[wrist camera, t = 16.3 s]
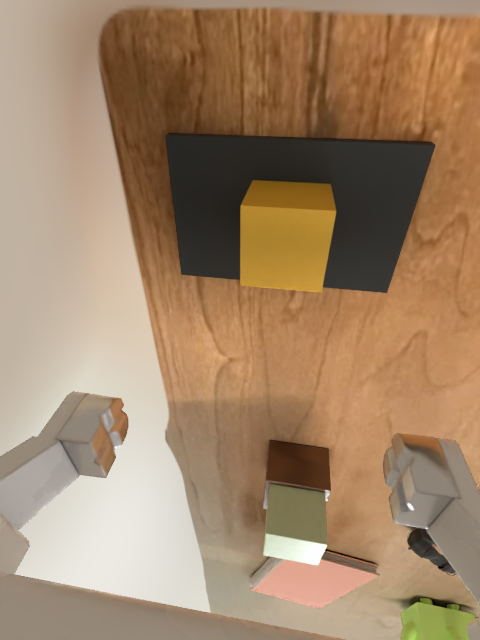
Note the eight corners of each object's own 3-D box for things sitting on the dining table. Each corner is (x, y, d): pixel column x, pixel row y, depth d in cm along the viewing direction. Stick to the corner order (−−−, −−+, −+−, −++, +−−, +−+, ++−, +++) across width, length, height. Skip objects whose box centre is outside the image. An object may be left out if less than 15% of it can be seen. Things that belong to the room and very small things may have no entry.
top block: (250, 250, 24) (239, 285, 21) (252, 179, 21) (240, 205, 18) (319, 255, 24) (321, 293, 20) (331, 183, 21) (336, 210, 17)
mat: (184, 270, 27) (181, 274, 27) (169, 132, 21) (164, 134, 21) (385, 287, 25) (387, 293, 25) (432, 141, 19) (436, 144, 19)
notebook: (284, 537, 57) (283, 551, 55) (378, 563, 57) (379, 577, 56) (246, 578, 74) (245, 590, 72) (319, 598, 74) (319, 610, 72)
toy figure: (451, 477, 39) (397, 531, 48) (480, 536, 34) (414, 584, 43) (507, 484, 40) (444, 536, 48) (545, 543, 35) (466, 589, 43)
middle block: (267, 507, 40) (262, 555, 36) (270, 483, 36) (265, 533, 33) (317, 516, 39) (318, 565, 35) (325, 492, 36) (327, 544, 32)
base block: (266, 469, 44) (262, 508, 40) (269, 439, 40) (265, 480, 36) (319, 478, 44) (320, 518, 40) (328, 448, 39) (331, 490, 35)
